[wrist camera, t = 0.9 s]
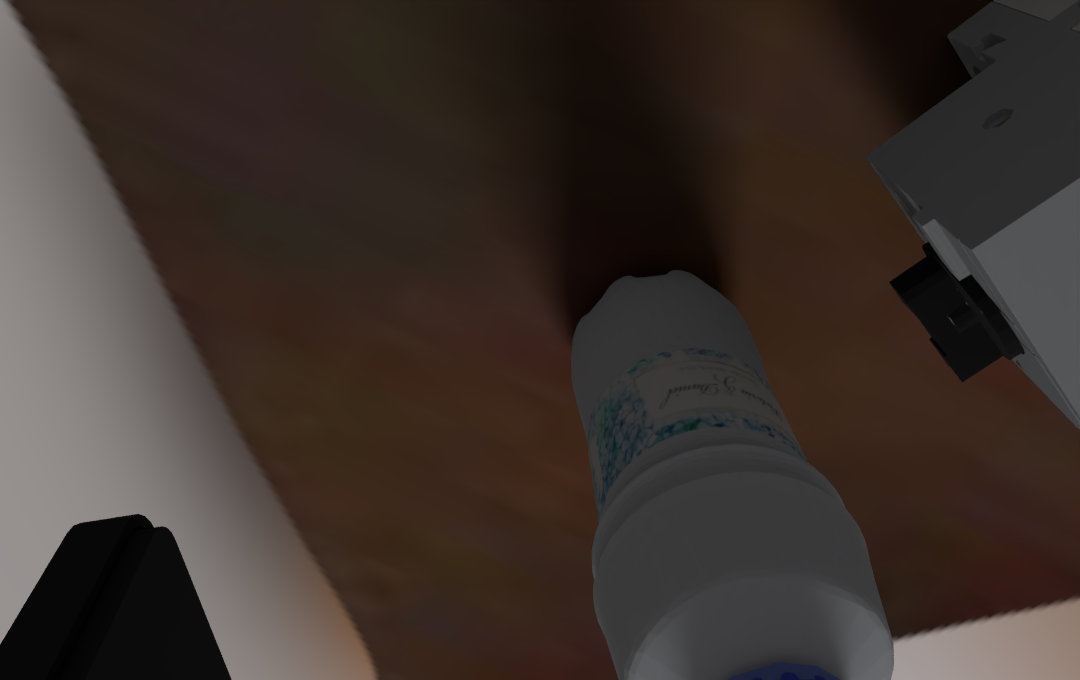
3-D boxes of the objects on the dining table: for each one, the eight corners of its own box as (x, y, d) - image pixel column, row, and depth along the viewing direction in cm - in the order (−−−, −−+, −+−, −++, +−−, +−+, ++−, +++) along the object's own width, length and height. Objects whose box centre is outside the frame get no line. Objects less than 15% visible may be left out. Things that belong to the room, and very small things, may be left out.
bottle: (772, 274, 36) (1050, 722, 18) (707, 429, 38) (888, 949, 21) (592, 227, 34) (695, 654, 17) (538, 390, 37) (577, 904, 20)
